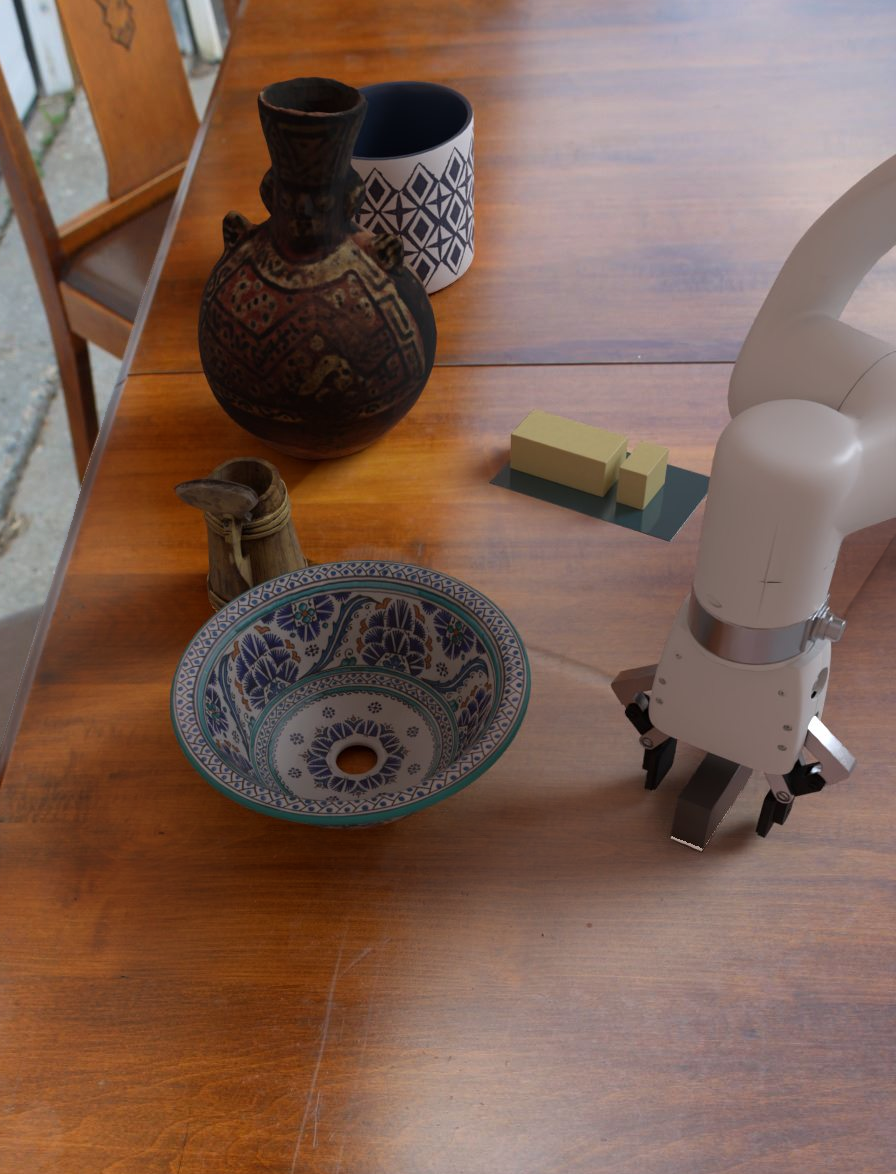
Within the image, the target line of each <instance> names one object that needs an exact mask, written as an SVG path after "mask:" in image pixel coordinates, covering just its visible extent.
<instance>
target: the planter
mask: <svg viewBox="0 0 896 1174" xmlns="http://www.w3.org/2000/svg"><path fill="white" fill-rule="evenodd" d="M355 89H356V90H358V91H360V93H361V94H363V95H365V96H366V98H367V100H368V108H367V112H366V116H365V119H364V120H363V123H362V126H361V129H360V131H359V134H358V137H357V140H356V142H355V145H354V148H353V154H352V159H351V165H352V167H353V169H354V170H356V171H357V172H358V173H359V175H360V176H361V177H362V179H363V181H364V183H365V186H366V198H365V202H364V204H363V205H362V207H361V209H360V210H359V211H358V212H357V213H356V214H355V215H354V217H353V218H352V219H351V220H352V221H354V222H356V223H358V224H359V225H361V226H363V227H365V228H366V229H368V230H369V231H371V232H373V233H374V234H376V235H379V234H383V233H391V234H394V235H396V236H398V237H399V238H400V239H401V240H402V242H403V245H404V252H405V255H404V258H405V259H406V260H407V261H408V262H409V264H410V265H411V266H412V267H413V268H414V269H415V271H416V272H417V274H418V275H419V277H420V279H421V280H422V282H423V284H424V286H425V289H426V291H427V294H428V295H430V294H434V293H436V292H438V291H441V290H443V289H444V288H446V287H448V286H450V285H451V284H453V283H455V282H456V281H457V280H459V278H461V277H462V276H464V274H465V273H466V272H467V271H468V270H469V268H470V266H471V264H472V263H473V260H474V257H475V150H474V149H475V145H474V144H475V140H474V139H475V136H474V135H475V134H474V133H475V132H474V128H475V127H474V108H473V106H472V104H471V102H470V101H469V100H468V98H467V97H466V96H465V95H464V94H462V93H461V92H459V91H457V90H455V89H453V88H451V87H448V86H446V85H443V84H438V83H434V82H427V81H420V80H419V81H417V80H396V81H387V82H381V83H374V84H370V85H365V86H362V87H359V88H355Z"/></svg>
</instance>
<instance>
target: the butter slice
mask: <svg viewBox="0 0 896 1174" xmlns="http://www.w3.org/2000/svg"><path fill="white" fill-rule="evenodd" d="M669 451H670V448H668V447H665V446H662V445H658V444H655V443H651V442H648V441H644V440H641V441H640V442H639V443H638V444H637V446H636V447H635V448H634V449H633V450H632V451H631V452H630V453H631V454H630V455H629V457H628V458H627V459H626V460H625V461H624V463H623V464H622V465H621V466H620V468H619V478H618V488H617V498H616V502H618V503H621V504H625V505H628V506H631V507H634V508H637V509H640V510H644V508H645V507H646V506H647V505H648V503H649V502H650V501H651V500H652V498H653V497H654V496H655V495H656V493H657V492H658V491H659V490H660V488H661V487H662V486H663V485H664V483H665V475H666V468H667V464H668V461H669V460H668V459H669Z"/></svg>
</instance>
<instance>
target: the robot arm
mask: <svg viewBox="0 0 896 1174" xmlns="http://www.w3.org/2000/svg"><path fill="white" fill-rule="evenodd" d="M895 246H896V153H894V155H891V156H890V157H889V158H887V159H886V160H884V161H883V162H882V163H880V164H879V165H878V166H876V167H875V168H873V169H872V170H871V171H869V172H868V173H867V174H865V175H864V176H863V177H862V178H860V179H859V180H858V181H857V182H856V183H854V184H853V185H852V186H851V187H849V189H848V190H847V191H845V192H844V193H843V194H842V195H841V196H840V197H838V198H837V199H836V200H835V201H834V202H833V203H832V204H831V205H830V206H829V207H828V208H827V209H826V210H825V211H824V212H823V213H822V214H821V215H820V216H819V217H818V218H817V219H816V220H814V222H813V223H812V225H811V226H810V227H808V229H807V230H806V231H805V232H804V234H803V235H802V237H800V239H799V240H798V241H797V243H796V244H795V246H794V247H793V249H792V250H791V251H790V253H789V255H788V257H787V258H786V259H785V261H784V263H783V265H782V267H781V269H780V270H779V272H778V274H777V276H776V278H775V280H774V282H773V284H772V286H771V287H770V290H769V291H768V293H767V295H766V297H765V299H764V301H763V303H762V304H761V307H760V309H758V310H759V311H758V312H757V314H756V316H755V318H754V320H753V321H752V324H751V326H750V329H749V330H748V332H747V335H746V337H745V339H744V340H743V343H742V346H741V348H740V350H739V352H738V355H737V357H736V360H735V363H734V365H733V368H732V372H731V374H730V378H729V381H728V390H727V407H728V412H729V417H730V418H731V420H730V421H729V422H728V424H727V425H726V426H725V427H724V429H723V430H722V432H721V434H720V436H719V438H718V440H717V442H716V445H715V449H714V453H713V458H712V464H711V470H710V474H709V475H710V476H709V477H710V481H709V487H708V493H707V495H706V500H705V504H704V511H703V517H702V524H701V530H700V535H699V536H700V537H699V542H698V543H699V544H698V549H697V553H696V554H697V555H696V561H695V567H694V573H693V578H692V584H691V585H692V586H691V590H690V592H689V593H687V595H686V596H685V598H684V600H683V601H682V604H681V606H680V607H679V608H678V611H677V613H676V615H675V617H674V620H673V622H672V624H671V627H670V629H669V632H668V635H667V637H666V640H665V643H664V645H663V649H662V650H661V651H662V652H661V655H660V658H659V662H658V663H655V664H650V665H645V666H639V667H634V668H629V669H625V670H621V671H619V672H618V673H617V675H616V676H615V678H614V679H613V680H612V682H611V683H610V688H611V690H612V691H613V693H614V695H615V696H616V698H617V700H618V701H619V703H620V705H621V706H624V708H625V709H624V715H625V716H626V718H627V719H628V720H629V722H630V723H631V724H632V726H633V727H634V728H635V730H636V731H637V732H638V733H639V735H640V737H639V738H638V742H639V744H640V746H641V747H642V748H644V752H643V759H642V766H641V769H642V770H643V771H646V777H645V783H644V789H645V790H647V791H649V792H653V791H654V792H655V791H657V789H658V788H659V786H660V785H661V783H662V782H663V780H665V778H666V776H667V775H668V773H669V772H670V771H671V769H672V768H673V765H674V763H675V758H676V757H675V756H676V752H677V751H676V750H677V745H678V741H680V742H683V743H685V744H688V745H690V746H693V747H694V748H697V749H700V750H703V751H705V752H707V753H708V752H710V753H712V754H715V755H718V756H720V757H723V758H725V759H728V760H730V761H733V762H736V763H738V764H741V765H744V766H746V767H749V768H752V769H753V771H754V770H755V771H758V772H761V773H763V775H764V777H765V779H766V781H767V783H768V786H769V788H770V789H769V790H768V792H767V794H766V795H765V796H764V798H763V801H762V805H761V809H760V813H759V816H758V820H757V823H756V827H755V831H754V832H755V833H756V836H758V837H760V838H764V839H765V838H766V837H767V835H768V834H769V832H770V831H771V829H772V827H773V825H774V824H776V825H779V826H784V824H785V822H786V820H787V819H788V817H789V815H790V813H791V811H792V808H793V804H794V801H795V799H796V798H797V797H801V796H804V795H810V794H814V793H819V792H821V791H822V790H823V789H824V787H827V786H833V785H835V784H838V783H840V782H843V781H845V780H848V779H849V778H850V776H851V775H852V774H853V772H854V770H855V768H856V767H857V765H858V760H857V758H856V757H855V756H854V755H853V754H852V753H851V752H850V751H849V750H848V749H847V748H846V747H845V746H844V745H843V743H841V741H840V740H838V738H837V737H836V736H835V735H834V734H833V733H832V731H830V730H829V729H828V727H826V725H825V724H824V723H823V722H822V721H821V720H822V716H823V713H824V712H823V711H824V707H825V702H826V696H827V691H828V685H829V678H830V671H831V662H832V661H831V660H832V659H831V658H832V642H834V643H836V644H837V643H838V642H839V641H840V639H841V638H842V637H843V634H844V631H845V630H846V626H847V624H848V621H847V620H846V619H843V618H840V617H837V616H836V614H835V613H833V612H831V607H830V606H828V605H829V601H830V598H831V595H832V594H831V593H830V592H829V589H830V587H831V582H832V579H833V575H834V572H835V567H836V565H837V561H838V557H839V554H840V549H841V546H842V542H843V541H844V539H845V538H846V537H848V536H849V535H851V534H853V533H856V532H859V531H861V530H863V529H866V528H868V527H871V526H872V527H873V526H874V525H878V524H880V523H883V522H886V521H888V520H892V519H894V518H896V345H894V344H892V343H890V342H888V341H885V340H883V339H881V338H879V337H876V336H874V335H872V334H870V333H867V332H865V331H862V330H860V329H859V328H856V327H854V326H852V325H850V324H848V323H845V322H843V321H841V320H840V318H841V316H842V314H843V312H844V310H845V308H846V306H847V305H848V303H849V301H850V300H851V298H852V296H853V294H854V293H855V292H856V290H857V289H858V287H859V286H860V284H861V283H862V281H863V280H864V278H865V277H866V276H867V274H868V273H869V272H870V271H871V270H872V269H873V267H874V266H875V265H876V264H877V263H878V262H879V261H880V260H881V259H882V258H883V257H884V256H885V255H886V254H888V252H889V251H890V250H892V249H893V248H894V247H895ZM645 692H650V696H649V695H648V694H647V693H645ZM804 747H805V748H806V749H807V751H808V752H809V753H810V754H811V755H812V756H813V757H814V759H816V760H817V761H815V762H810V763H806V760H805V757H804V756H803V753H802V751H803V749H804Z"/></svg>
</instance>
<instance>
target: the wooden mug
mask: <svg viewBox="0 0 896 1174" xmlns="http://www.w3.org/2000/svg"><path fill="white" fill-rule="evenodd" d="M173 491H174V493H175V495H176V496H177V497H178V498H179V500H180V501H181V502H183V503H184V504H186V505H188V506H191V507H193V508H196V509H199V510H201V511H202V514H203V518H204V521H205V525H206V533H207V549H208V573H207V576H206V585H207V597H208V596H209V598H208V600H209V599H210V601H211V604H212V606H213V607H214V608H215V610H217V611H219V610H220V609H221V608H223V607H224V606H225V605H226V604H228V603H229V602H230V601H232V600H233V599H235V598H236V597H238V596H239V595H241V594H242V593H244V592H246V591H248V590H250V589H251V588H253V587H255V586H257V585H259V584H261V583H263V582H266V581H268V580H270V579H272V578H275V577H278V576H280V575H283V574H285V573H289V572H292V571H295V570H298V569H302V568H306V567H309V564H308V559H307V557H305V555H304V554H303V552H302V549H301V545H300V542H299V538H298V535H297V532H296V531H297V530H296V529H295V525H294V522H293V521H294V520H293V518H292V503H291V500H290V495H289V493H288V490H287V486H286V483H285V481H284V480H283V479H282V478H281V475H280V471H279V469H278V468H277V467H276V466H275V464H273V463H271V462H270V461H268V460H267V459H264V458H261V457H257V456H238V457H232V458H229V459H226V460H224V461H222V462H221V463H220V464H218V465H217V466H216V467H214V468H213V469H212V470H211V471H210V473H209V474H208V475H207V477H202V478H195V479H191V480H186V481H183V482H180V483H178V484H177V485H175V486H174V488H173ZM210 601H209V602H210ZM211 604H210V605H211Z"/></svg>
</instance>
